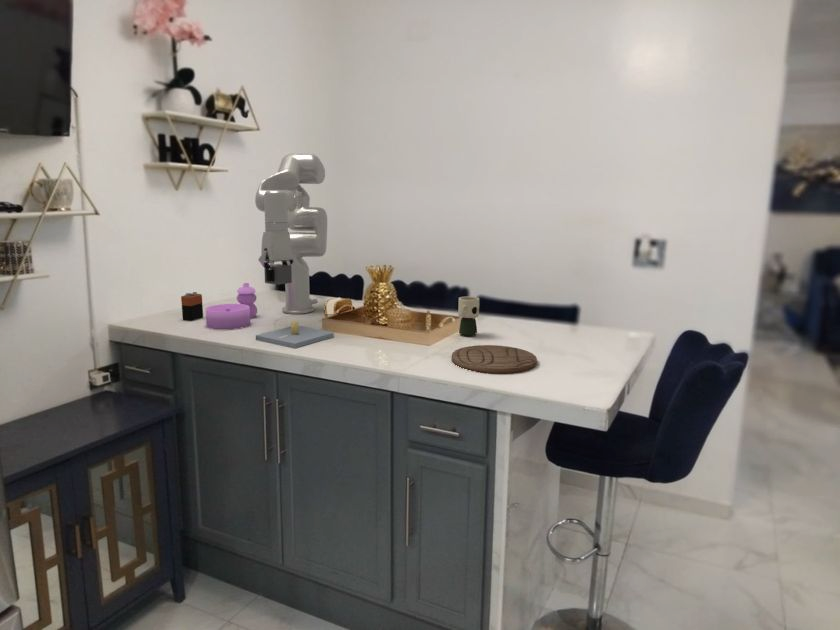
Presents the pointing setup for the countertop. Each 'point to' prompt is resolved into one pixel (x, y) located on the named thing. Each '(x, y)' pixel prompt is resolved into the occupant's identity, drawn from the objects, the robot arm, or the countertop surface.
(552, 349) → the countertop surface
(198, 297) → the battery
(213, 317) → the container set
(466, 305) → the character mug
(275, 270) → the dark gray cube
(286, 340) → the hub panel
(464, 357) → the trivet
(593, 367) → the countertop surface
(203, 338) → the countertop surface
